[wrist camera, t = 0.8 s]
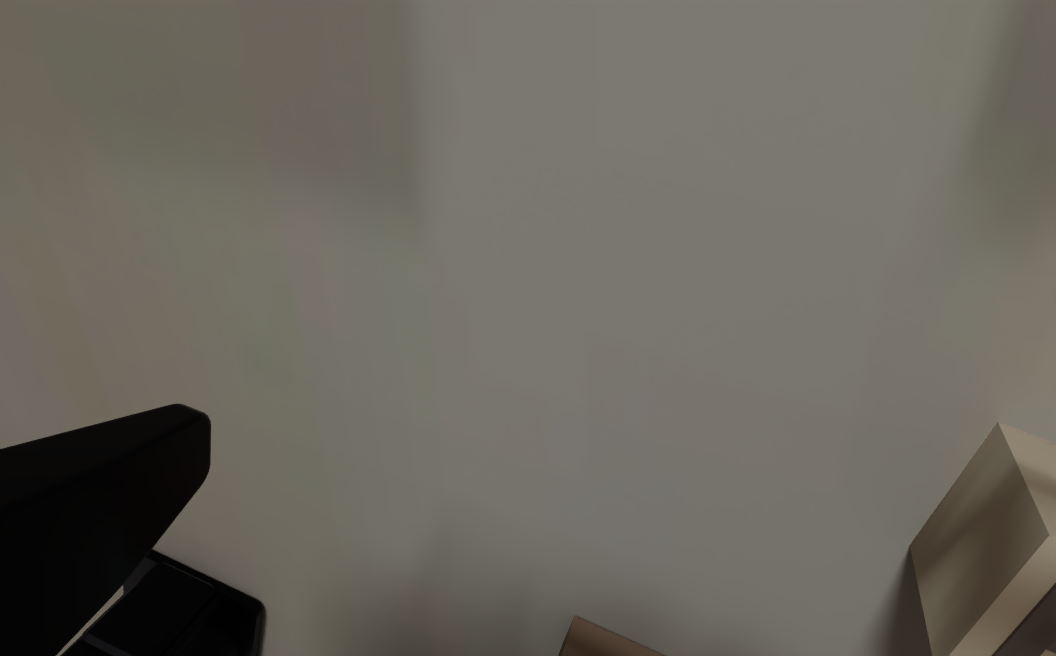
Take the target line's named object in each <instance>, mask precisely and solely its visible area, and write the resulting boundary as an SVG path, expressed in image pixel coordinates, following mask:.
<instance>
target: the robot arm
mask: <svg viewBox="0 0 1056 656" xmlns="http://www.w3.org/2000/svg"><path fill="white" fill-rule="evenodd" d="M210 455H211V421H210V419H209V417H208V415H206V414H205V413H203V412H201V411H198V410H196V409H193V408H191V407H188V406H186V405H183V404H172V405H168V406H164V407H160V408H156V409H152V410H148V411H145V412H141V413H137V414H133V415H129V416H125V417H122V418H118V419H114V420H110V421H106V422H102V423H99V424H95V425H91V426H87V427H83V428H79V429H76V430H72V431H68V432H64V433H60V434H56V435H53V436H49V437H45V438H41V439H37V440H33V441H30V442H26V443H22V444H18V445H14V446H10V447H7V448H3V449H0V656H56V655H57V654H58V653H59V652H60V651H61V650H62V649H63V648H64V646H65V645H66V644H67V643H68V642H69V641H70V640H71V639H72V638H73V637H74V636H75V635H76V634H77V633H78V632H79V631H80V630H81V629H82V628H83V627H84V625H85V624H86V623H87V622H88V621H89V620H90V619H91V618H92V617H93V616H94V615H95V614H96V613H97V612H98V611H99V610H100V609H101V608H102V607H103V606H104V605H105V603H106V602H107V601H108V600H109V599H110V598H111V597H112V596H113V595H114V594H115V593H116V592H117V591H118V589H119V588H120V587H121V586H122V585H123V591H124V594H123V595H122V596H121V597H120V598H119V599H118V600H117V601H116V602H115V603H114V604H113V605H112V606H111V607H110V608H109V609H108V610H107V611H105V612H104V613H103V614H102V615H101V616H100V617H99V618H98V619H97V620H96V621H95V622H94V623H93V624H92V625H91V626H90V627H88V628H87V629H86V630H85V631H84V633H83V634H82V636H81V637H80V638H78V639H77V640H76V641H75V642H74V643H73V644H72V645H71V646H70V647H69V648H68V649H67V650H66V651H65V652H64V653H63V654H62V655H60V656H257V652H258V643H259V635H260V627H261V618H262V608H261V606H260V604H259V603H258V602H257V601H256V600H254V599H252V598H250V597H248V596H246V595H244V594H242V593H240V592H238V591H236V590H234V589H231V588H229V587H227V586H225V585H223V584H221V583H219V582H217V581H215V580H213V579H210V578H208V577H206V576H204V575H202V574H200V573H198V572H196V571H194V570H192V569H189V568H187V567H185V566H183V565H181V564H179V563H177V562H175V561H173V560H171V559H168V558H166V557H164V556H162V555H160V554H158V553H156V552H154V551H152V550H151V549H152V548H153V547H154V545H155V544H156V543H157V542H158V540H159V539H160V538H161V537H162V535H163V534H164V533H165V531H166V530H167V529H168V528H169V526H170V525H171V524H172V522H173V521H174V520H175V519H176V517H177V516H178V515H179V513H180V512H181V511H182V510H183V508H184V507H185V506H186V504H187V503H188V502H189V501H190V499H191V498H192V497H193V495H194V494H195V493H196V492H197V490H198V489H199V488H200V487H201V485H202V484H203V482H204V481H205V479H206V477H207V475H208V472H209V468H210Z"/></svg>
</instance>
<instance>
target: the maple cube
mask: <svg viewBox="0 0 1056 656" xmlns="http://www.w3.org/2000/svg"><path fill="white" fill-rule="evenodd" d="M910 550H911V554H912V559H913V564H914V569H915V574H916V579H917V584H918V588H919V593H920V598H921V603H922V608H923V613H924V618H925V622H926V627H927V632H928V637H929V642H930V647H931V652H932V656H1056V444H1055V443H1053V442H1050V441H1047V440H1045V439H1042V438H1039V437H1037V436H1034V435H1031V434H1029V433H1026V432H1023V431H1021V430H1018V429H1015V428H1013V427H1010V426H1007V425H1005V424H1002V423H999V422H998V423H997V424H996V425H995V427H994V428H993V430H992V431H991V432H990V434H989V435H988V437H987V438H986V439H985V441H984V442H983V444H982V445H981V446H980V448H979V449H978V451H977V452H976V453H975V455H974V456H973V458H972V459H971V460H970V462H969V463H968V465H967V466H966V467H965V469H964V470H963V472H962V473H961V474H960V476H959V477H958V479H957V480H956V481H955V483H954V484H953V486H952V487H951V488H950V490H949V491H948V493H947V494H946V495H945V497H944V498H943V500H942V501H941V502H940V504H939V505H938V507H937V508H936V509H935V511H934V512H933V514H932V515H931V516H930V518H929V519H928V521H927V522H926V523H925V525H924V526H923V528H922V529H921V530H920V532H919V533H918V535H917V536H916V537H915V539H914V540H913V542H912V543H911V544H910Z"/></svg>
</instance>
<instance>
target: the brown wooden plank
mask: <svg viewBox="0 0 1056 656" xmlns="http://www.w3.org/2000/svg"><path fill="white" fill-rule="evenodd" d="M559 656H664V655H662V654H659V653H657V652H655V651H653V650H651V649H648V648H646V647H644V646H642V645H639V644H637V643H635V642H633V641H630V640H628V639H626V638H624V637H622V636H619V635H617V634H615V633H613V632H610V631H608V630H606V629H604V628H601V627H599V626H597V625H595V624H593V623H590V622H588V621H586V620H584V619H581V618H579V617H577V616H575V617H574V619H573V621H572V624H571V626H570V628H569V630H568V633H567V635H566V637H565V640H564V642H563V644H562V647H561V650H560V653H559Z"/></svg>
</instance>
